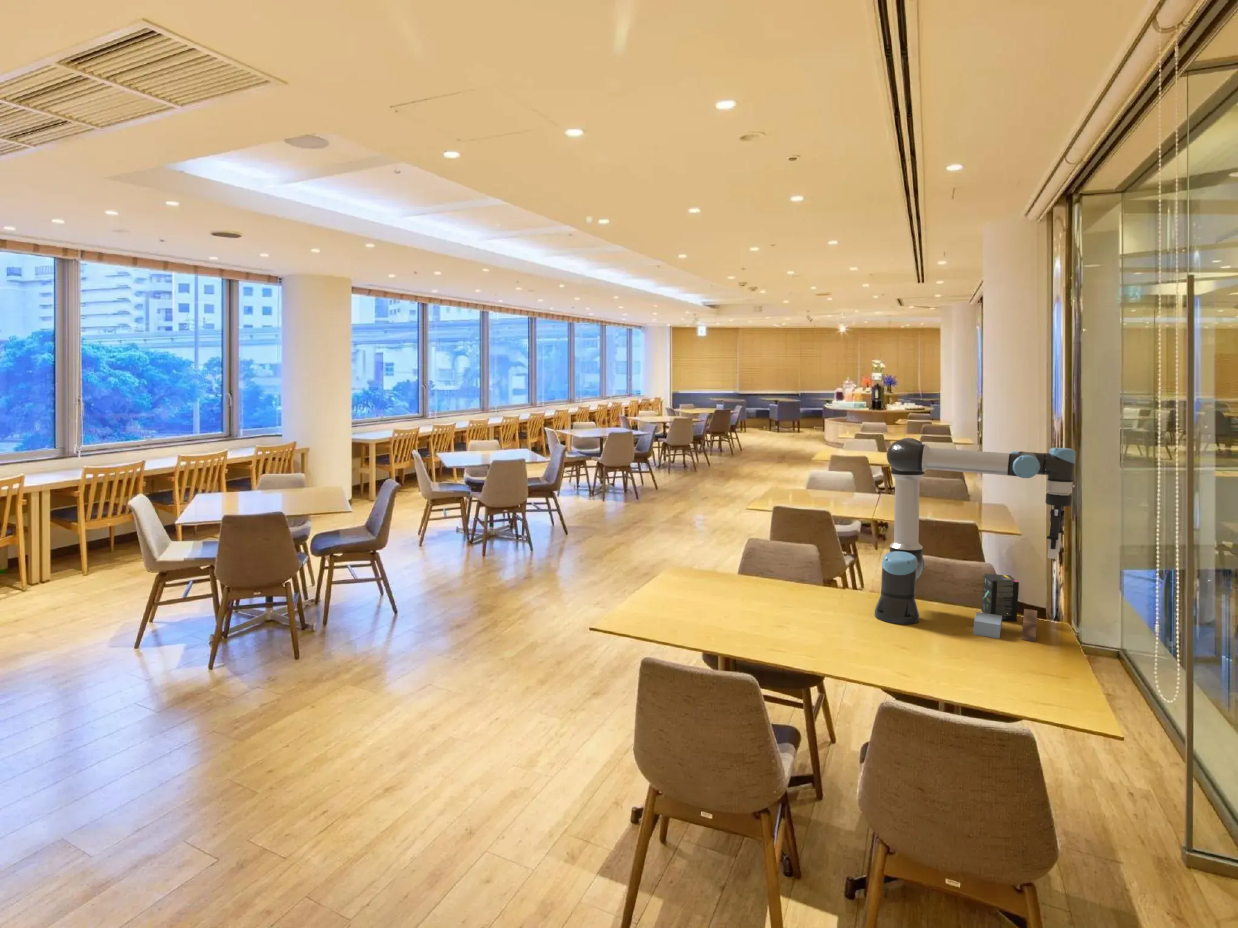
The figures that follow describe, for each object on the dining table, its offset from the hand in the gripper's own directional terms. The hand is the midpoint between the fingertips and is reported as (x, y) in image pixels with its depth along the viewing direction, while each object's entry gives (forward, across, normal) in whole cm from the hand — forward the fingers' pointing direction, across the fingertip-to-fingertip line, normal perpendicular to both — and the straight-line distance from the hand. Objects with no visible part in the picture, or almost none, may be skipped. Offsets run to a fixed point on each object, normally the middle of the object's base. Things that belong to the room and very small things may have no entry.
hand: (1053, 554), depth 250 cm
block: (+28, -12, +17) cm, 35 cm away
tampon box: (+28, +10, +16) cm, 33 cm away
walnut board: (+27, -6, +5) cm, 28 cm away
